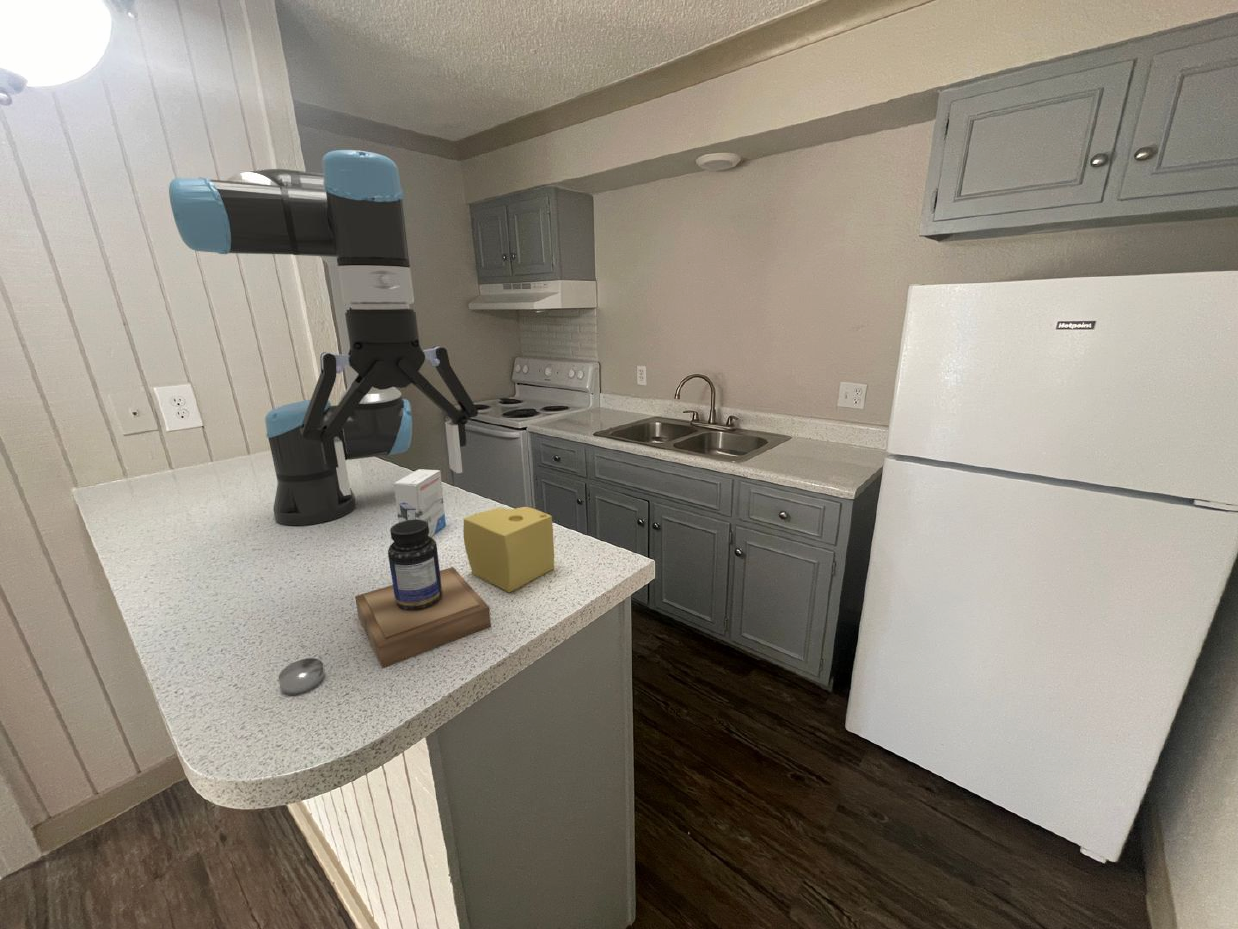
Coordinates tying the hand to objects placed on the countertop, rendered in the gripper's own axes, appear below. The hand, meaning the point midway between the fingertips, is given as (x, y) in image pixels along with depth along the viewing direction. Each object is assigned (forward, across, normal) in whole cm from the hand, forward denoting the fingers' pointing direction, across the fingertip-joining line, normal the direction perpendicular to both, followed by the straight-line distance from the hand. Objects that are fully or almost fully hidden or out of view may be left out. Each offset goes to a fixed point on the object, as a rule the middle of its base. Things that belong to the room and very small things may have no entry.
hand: (404, 480), depth 66 cm
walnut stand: (+21, 0, 0) cm, 21 cm away
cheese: (+21, +16, +5) cm, 27 cm away
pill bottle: (+18, 0, 0) cm, 18 cm away
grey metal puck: (+21, -15, -4) cm, 26 cm away
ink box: (+21, +9, +29) cm, 37 cm away
